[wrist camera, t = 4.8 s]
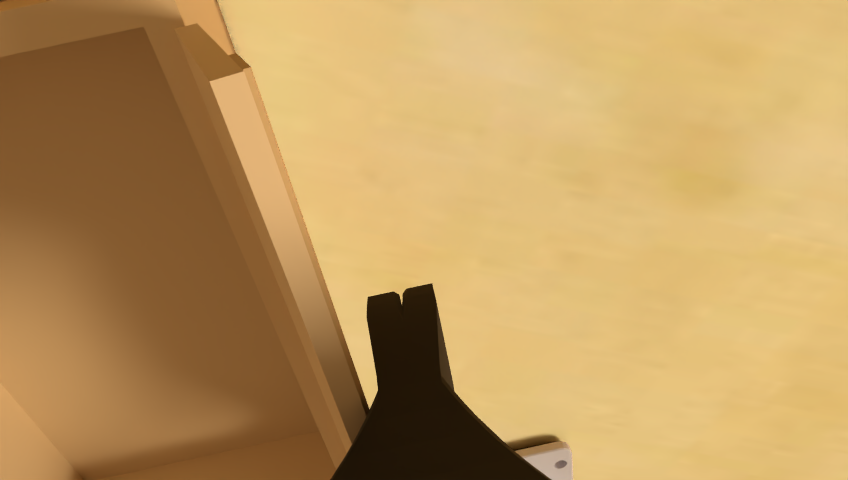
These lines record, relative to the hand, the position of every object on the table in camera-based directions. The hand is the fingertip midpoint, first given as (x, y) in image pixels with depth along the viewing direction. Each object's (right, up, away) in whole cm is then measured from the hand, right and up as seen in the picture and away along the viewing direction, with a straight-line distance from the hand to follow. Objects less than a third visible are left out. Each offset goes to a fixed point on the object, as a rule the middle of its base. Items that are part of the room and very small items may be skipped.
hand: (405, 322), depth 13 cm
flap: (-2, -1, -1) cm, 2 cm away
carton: (-8, 0, +3) cm, 9 cm away
